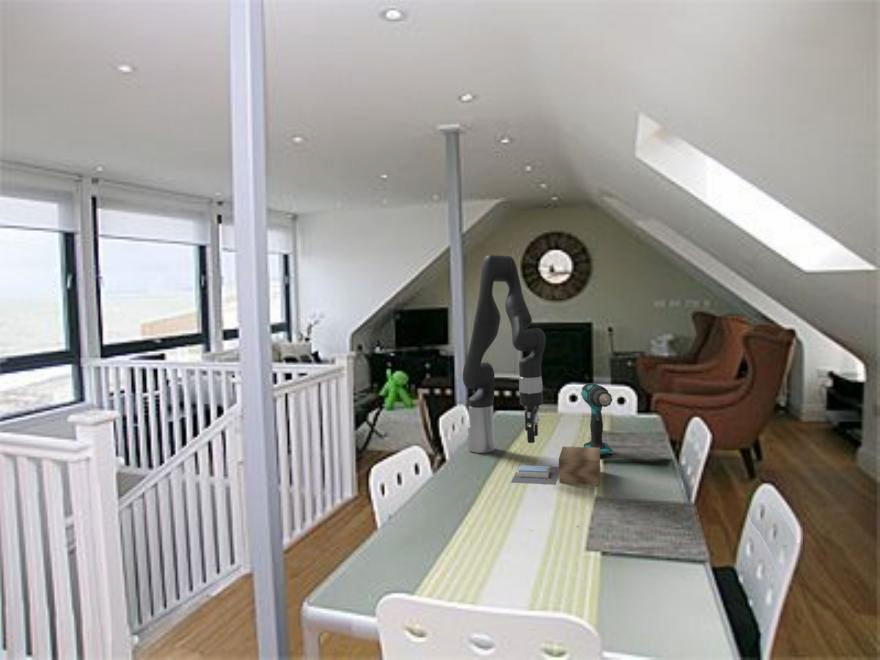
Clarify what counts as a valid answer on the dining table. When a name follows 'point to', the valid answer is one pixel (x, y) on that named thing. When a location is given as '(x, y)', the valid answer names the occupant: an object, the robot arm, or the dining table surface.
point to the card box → (533, 471)
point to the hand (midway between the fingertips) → (532, 439)
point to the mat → (537, 480)
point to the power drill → (596, 414)
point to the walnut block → (579, 465)
